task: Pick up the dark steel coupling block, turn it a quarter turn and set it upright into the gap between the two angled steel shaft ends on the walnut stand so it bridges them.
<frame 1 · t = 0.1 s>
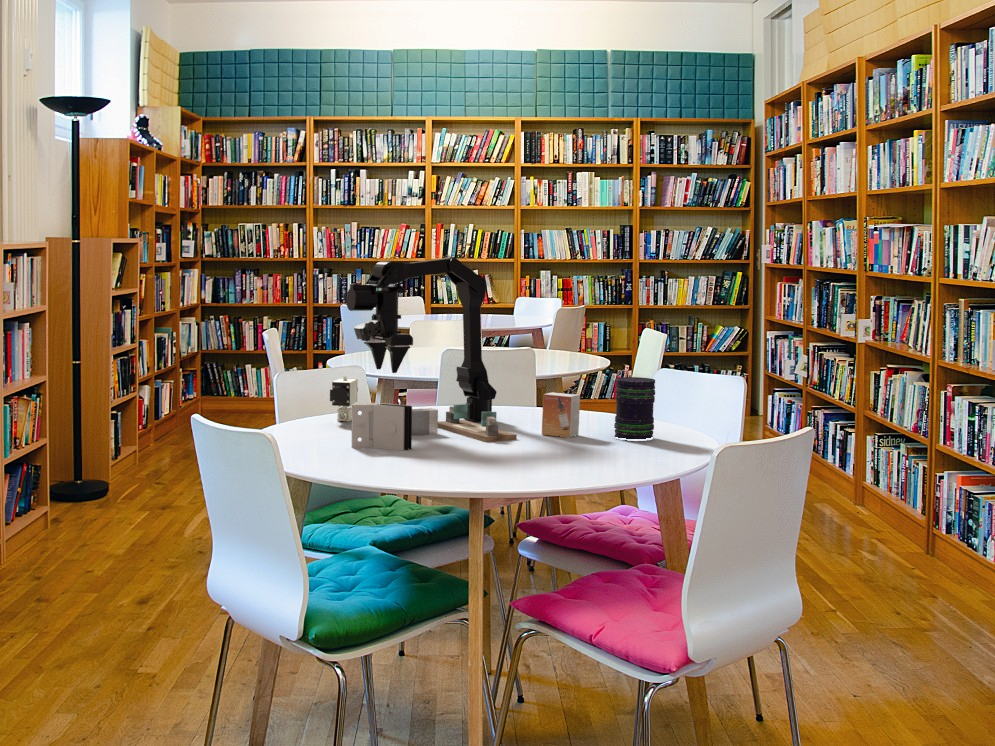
hand: (386, 371, 276), 15 cm above the table, tool pointing down, fingers open, 9 cm apart
hinge: (381, 448, 248), on the table
small box: (560, 436, 271), on the table
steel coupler: (416, 433, 268), on the table
pneumatic valve: (343, 421, 287), on the table
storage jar: (633, 439, 268), on the table
shaft coupling stand: (473, 432, 272), on the table
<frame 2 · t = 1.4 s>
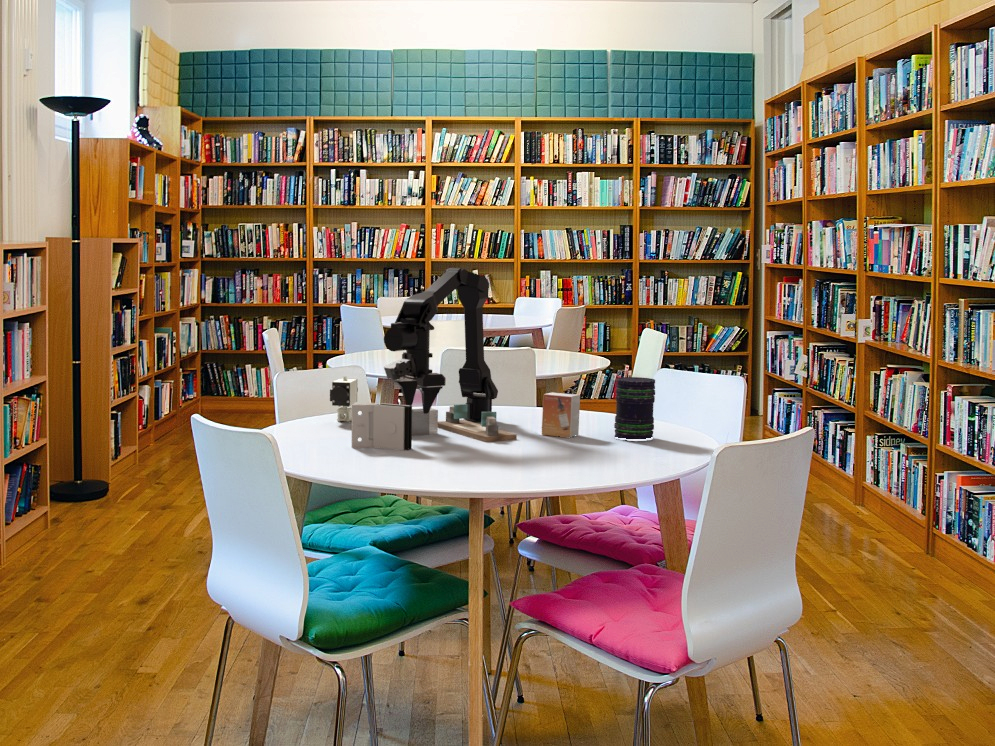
hand: (417, 411, 268), 6 cm above the table, tool pointing down, fingers open, 9 cm apart
nothing on the table moved.
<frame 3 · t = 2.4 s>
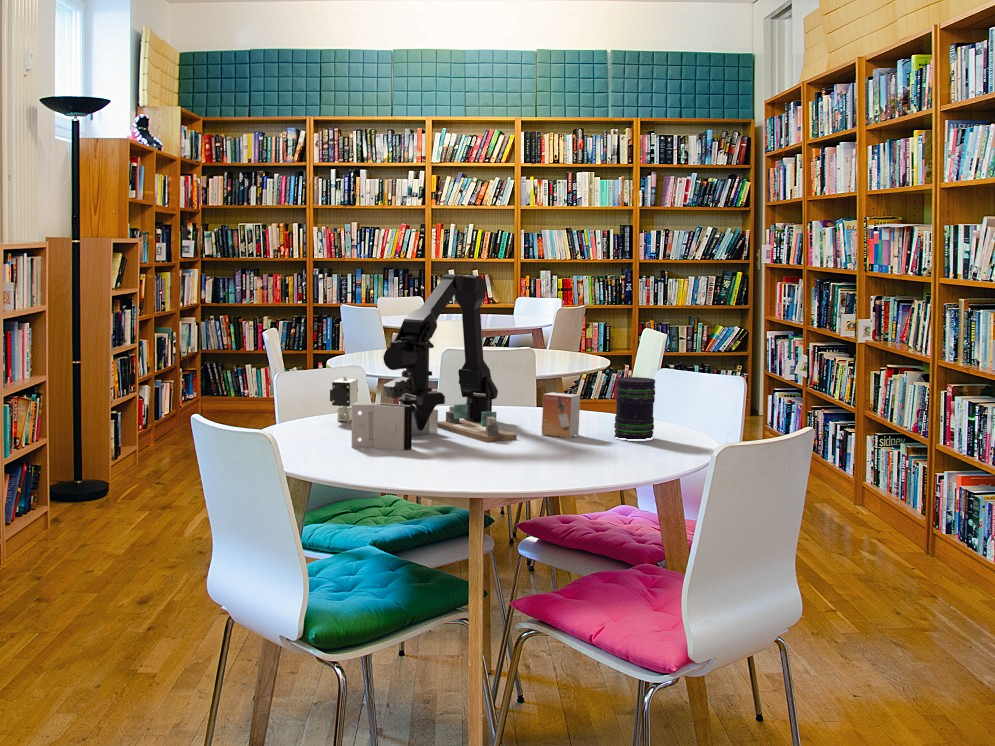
hand: (416, 429, 268), 1 cm above the table, tool pointing down, fingers closed on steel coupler, 4 cm apart
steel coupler: (416, 433, 268), on the table, touching gripper
everything else where it was.
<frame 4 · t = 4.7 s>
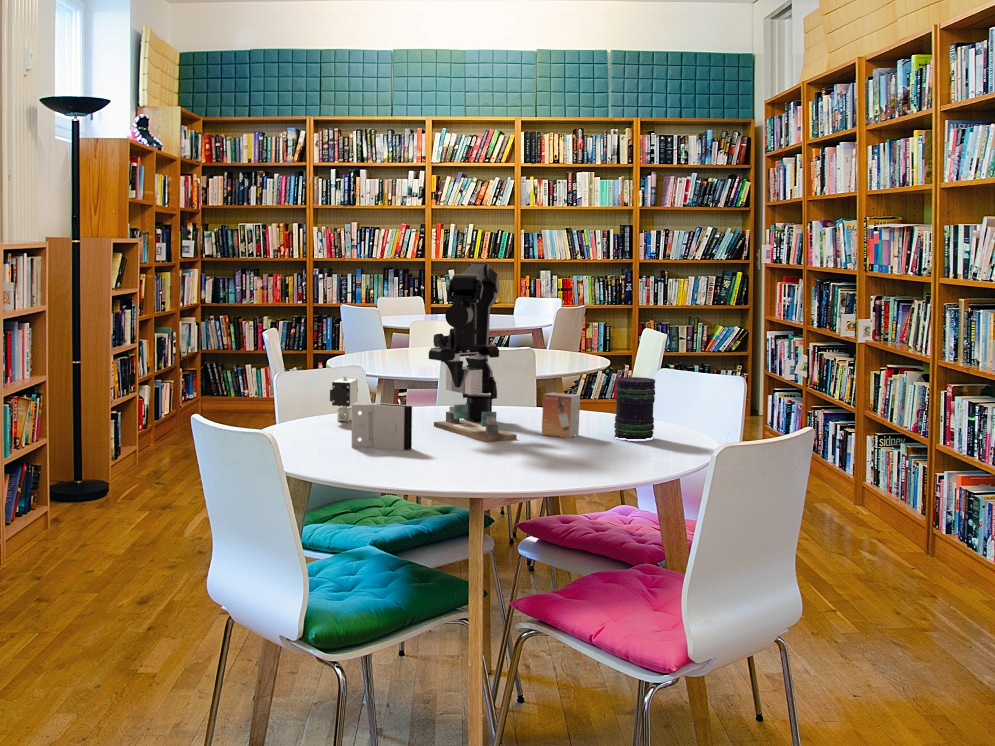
hand: (463, 386, 270), 12 cm above the table, tool pointing down, fingers closed on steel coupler, 4 cm apart
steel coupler: (463, 391, 270), point 11 cm above the table, touching gripper
everything else where it was.
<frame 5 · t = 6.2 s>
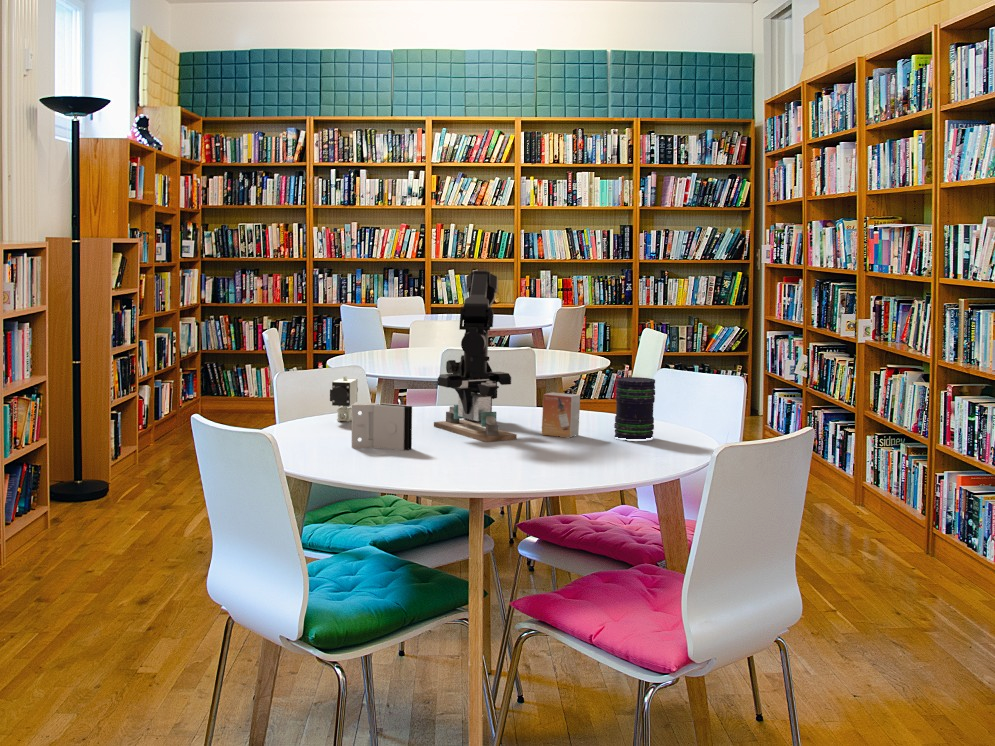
hand: (474, 413, 271), 5 cm above the table, tool pointing down, fingers closed on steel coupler, 4 cm apart
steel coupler: (474, 418, 271), point 4 cm above the table, touching gripper
everything else where it was.
when the fingers open (4 cm above the table, at t = 7.1 s): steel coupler drops 1 cm, resting on shaft coupling stand.
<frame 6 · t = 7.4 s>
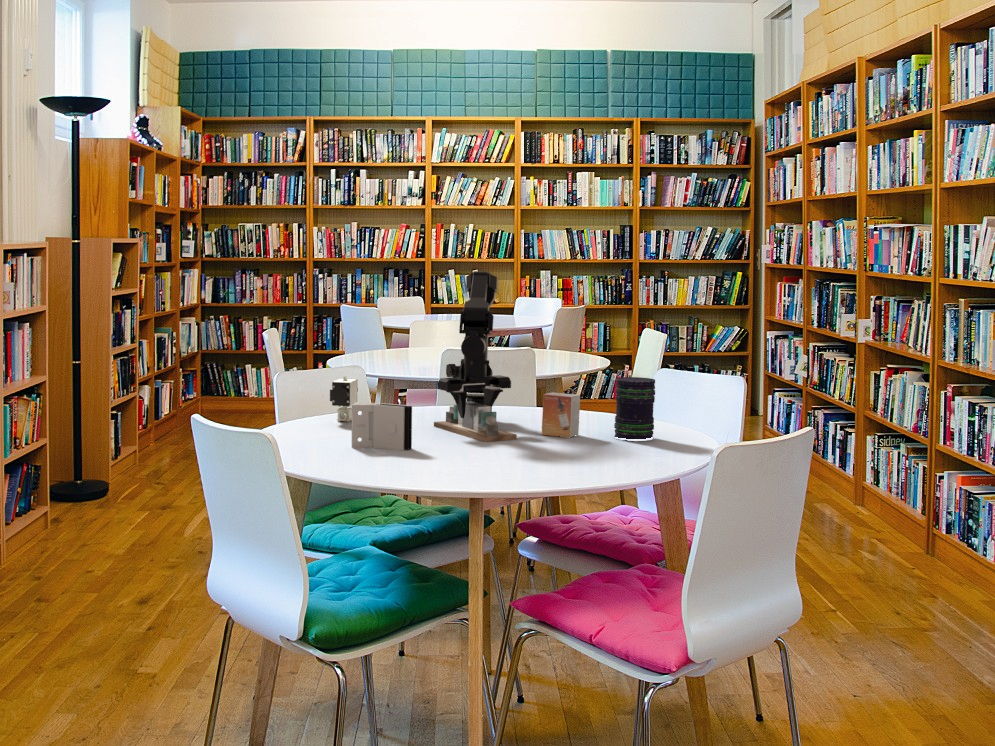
hand: (474, 417, 271), 4 cm above the table, tool pointing down, fingers open, 7 cm apart
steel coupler: (474, 427, 272), point 1 cm above the table, touching shaft coupling stand
everything else where it was.
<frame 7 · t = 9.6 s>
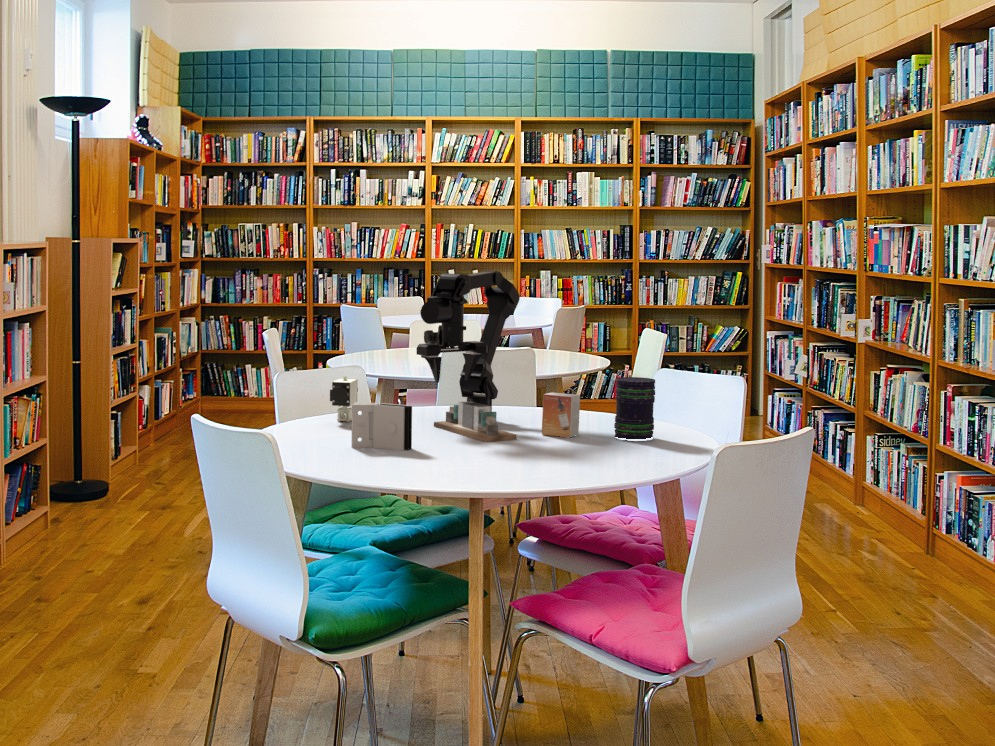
hand: (452, 381, 280), 12 cm above the table, tool pointing down, fingers open, 9 cm apart
nothing on the table moved.
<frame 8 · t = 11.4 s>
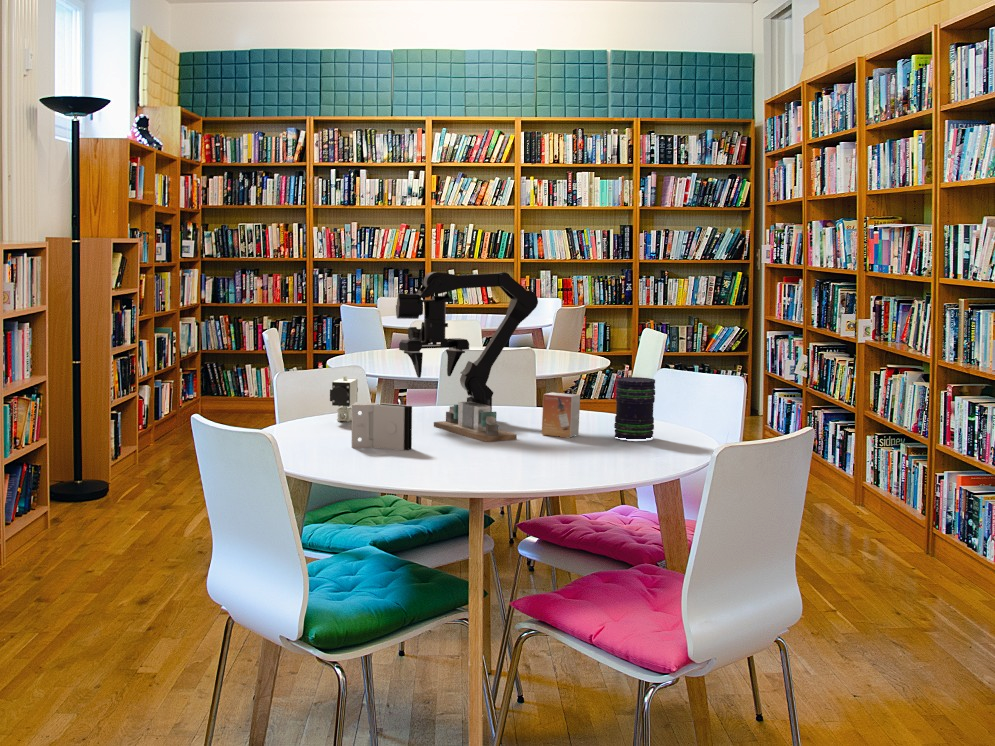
hand: (434, 376, 288), 12 cm above the table, tool pointing down, fingers open, 9 cm apart
nothing on the table moved.
at the end: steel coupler 0.0 cm off-centre on the shaft coupling stand, point 1.3 cm above the shaft coupling stand's base; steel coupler tilted 0°; the gripper is holding nothing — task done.
